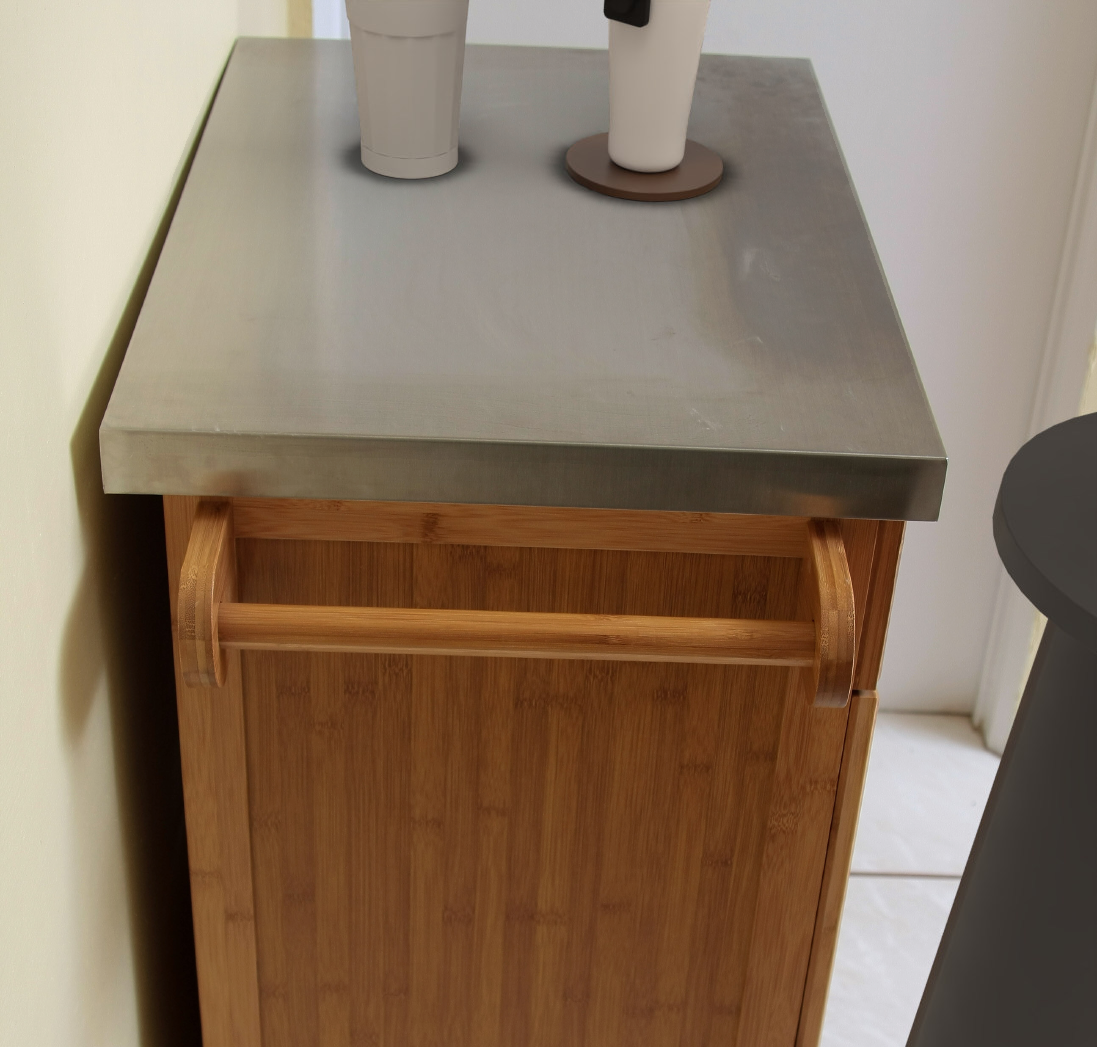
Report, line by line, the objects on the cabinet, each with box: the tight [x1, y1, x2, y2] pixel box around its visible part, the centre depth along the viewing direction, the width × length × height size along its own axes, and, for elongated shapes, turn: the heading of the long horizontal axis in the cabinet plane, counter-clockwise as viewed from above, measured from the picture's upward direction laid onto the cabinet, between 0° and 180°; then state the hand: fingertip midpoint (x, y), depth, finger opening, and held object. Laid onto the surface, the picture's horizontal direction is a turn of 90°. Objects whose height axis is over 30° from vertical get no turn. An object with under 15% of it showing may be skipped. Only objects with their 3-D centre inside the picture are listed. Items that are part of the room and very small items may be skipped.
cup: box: [344, 0, 470, 180], centre depth 103 cm, size 8×8×13 cm
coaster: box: [565, 131, 724, 202], centre depth 108 cm, size 11×11×1 cm
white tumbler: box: [607, 0, 712, 172], centre depth 103 cm, size 7×7×15 cm
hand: (659, 5), depth 101 cm, fingers closed on white tumbler, 6 cm apart
